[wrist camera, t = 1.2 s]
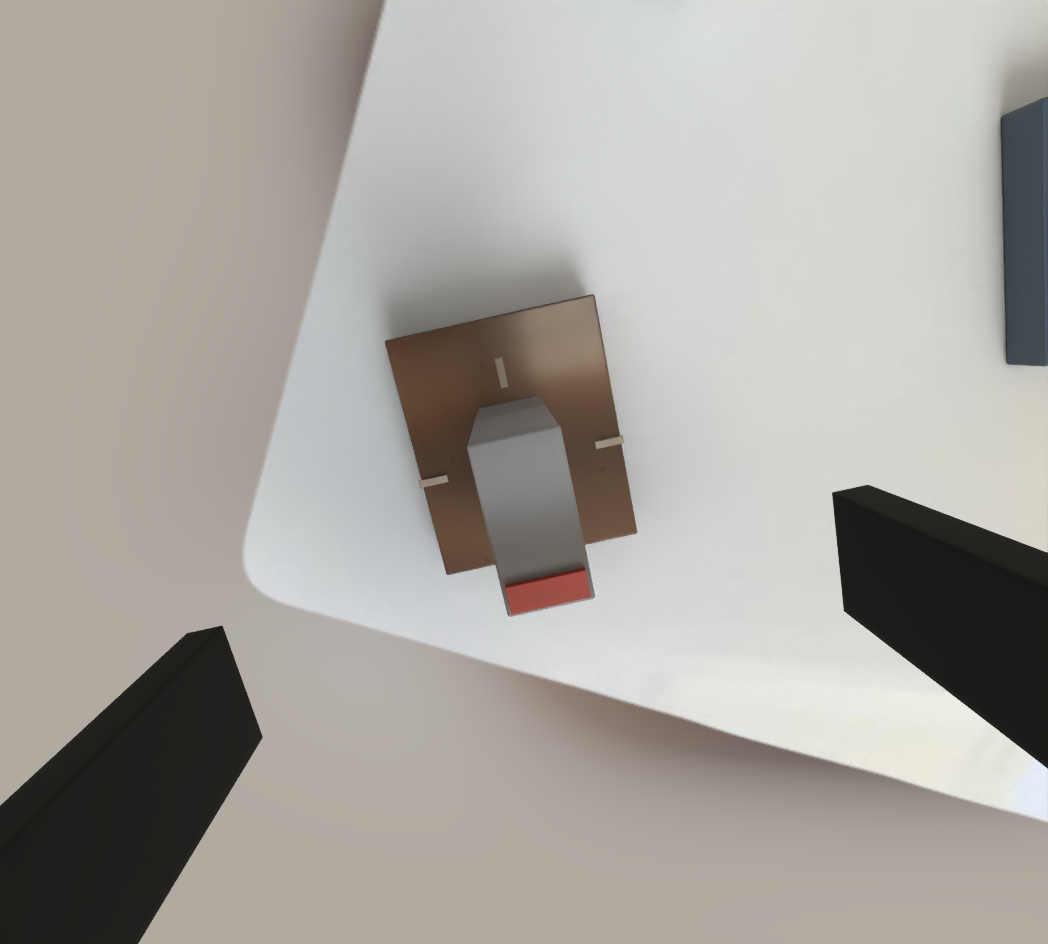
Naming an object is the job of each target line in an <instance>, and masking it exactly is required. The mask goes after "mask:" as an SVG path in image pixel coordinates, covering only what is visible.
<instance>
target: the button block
mask: <svg viewBox="0 0 1048 944" xmlns="http://www.w3.org/2000/svg"><path fill="white" fill-rule="evenodd" d="M1002 150H1003V194H1004V238H1005V282H1006V327H1007V363H1008V364H1009V365H1027V366H1048V97H1046V98H1042V99H1040V100H1038V101H1035V102H1033V103H1031V104H1028V105H1026V106H1024V107H1022V108H1019V109H1017V110H1015V111H1013V112H1010V113H1008V114H1006V115H1004V116H1003V117H1002Z"/></svg>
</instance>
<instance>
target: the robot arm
mask: <svg viewBox="0 0 1048 944" xmlns="http://www.w3.org/2000/svg"><path fill="white" fill-rule="evenodd" d="M832 496H833V506H834V516H835V526H836V536H837V546H838V556H839V566H840V576H841V586H842V596H843V606H844V612H846V613H847V614H848V615H850V616H851V617H852V618H854V619H855V620H856V621H857V622H859V623H860V624H861V625H863V626H864V627H865V628H867V629H868V630H869V631H870V632H872V633H873V634H874V635H876V636H877V637H878V638H879V639H881V640H882V641H883V642H885V643H886V644H887V645H889V646H890V647H891V648H892V649H894V650H895V651H896V652H898V653H899V654H900V655H901V656H903V657H904V658H905V659H907V660H908V661H909V662H911V663H912V664H913V665H914V666H916V667H917V668H918V669H920V670H921V671H922V672H924V673H925V674H926V675H927V676H929V677H930V678H931V679H933V680H934V681H935V682H936V683H938V684H939V685H940V686H942V687H943V688H944V689H946V690H947V691H948V692H949V693H951V694H952V695H953V696H955V697H956V698H957V699H959V700H960V701H961V702H962V703H964V704H965V705H966V706H968V707H969V708H970V709H971V710H973V711H974V712H975V713H977V714H978V715H979V716H981V717H982V718H983V719H984V720H986V721H987V722H988V723H990V724H991V725H992V726H994V727H995V728H996V729H997V730H999V731H1000V732H1001V733H1003V734H1004V735H1005V736H1006V737H1008V738H1009V739H1010V740H1012V741H1013V742H1014V743H1016V744H1017V745H1018V746H1019V747H1021V748H1022V749H1023V750H1025V751H1026V752H1027V753H1028V754H1030V755H1031V756H1032V757H1034V758H1035V759H1036V760H1038V761H1039V762H1040V763H1041V764H1043V765H1044V766H1045V767H1047V768H1048V553H1047V552H1044V551H1041V550H1039V549H1036V548H1033V547H1031V546H1028V545H1025V544H1023V543H1020V542H1018V541H1015V540H1012V539H1010V538H1007V537H1004V536H1002V535H999V534H996V533H994V532H991V531H989V530H986V529H983V528H981V527H978V526H975V525H973V524H970V523H967V522H965V521H962V520H959V519H957V518H954V517H952V516H949V515H946V514H944V513H941V512H938V511H936V510H933V509H930V508H928V507H925V506H923V505H920V504H917V503H915V502H912V501H909V500H907V499H904V498H901V497H899V496H896V495H893V494H891V493H888V492H886V491H883V490H880V489H878V488H875V487H872V486H870V485H865V486H860V487H856V488H851V489H847V490H842V491H837V492H833V493H832ZM261 739H262V734H261V731H260V729H259V726H258V723H257V720H256V717H255V715H254V712H253V709H252V706H251V704H250V701H249V698H248V695H247V692H246V690H245V687H244V684H243V681H242V679H241V676H240V673H239V670H238V668H237V665H236V662H235V659H234V656H233V654H232V651H231V648H230V645H229V642H228V640H227V637H226V634H225V631H224V629H223V626H219V627H214V628H210V629H205V630H201V631H196V632H191V633H187V634H186V635H185V636H184V637H183V638H182V639H181V640H179V642H177V643H176V644H175V645H174V646H173V647H172V648H171V649H170V650H169V651H168V652H166V653H165V654H164V655H163V656H162V657H161V658H160V659H159V660H158V661H157V662H155V663H154V664H153V665H152V666H151V667H150V668H149V669H148V670H147V671H146V672H145V673H144V674H142V675H141V676H140V677H139V678H138V679H137V680H136V681H135V682H134V683H133V684H132V685H131V686H130V687H128V688H127V689H126V690H125V691H124V692H123V693H122V694H121V695H120V696H119V697H118V698H116V699H115V700H114V702H112V703H111V704H110V705H109V706H108V707H107V708H106V709H105V710H103V711H102V712H101V713H100V714H99V715H98V716H97V717H96V718H95V719H94V720H93V721H92V722H90V723H89V724H88V725H87V726H86V727H85V728H84V729H83V730H82V731H81V732H80V733H79V734H78V735H77V736H75V737H74V738H73V739H72V740H71V741H70V742H69V743H68V744H67V745H66V746H65V747H63V748H62V749H61V750H60V751H59V752H58V753H57V754H56V755H55V756H54V757H53V758H51V759H50V760H49V761H48V762H47V763H46V764H45V765H44V766H43V767H42V768H41V769H40V770H39V771H37V772H36V773H35V774H34V775H33V776H32V777H31V778H30V779H29V780H28V781H27V782H25V783H24V784H23V785H22V786H21V787H20V788H19V789H18V790H17V791H16V792H15V793H14V794H12V795H11V796H10V797H9V798H8V799H7V800H6V801H5V802H4V803H3V804H2V805H1V806H0V944H138V943H139V941H140V940H141V938H142V936H143V934H144V933H145V931H146V930H147V928H148V926H149V925H150V923H151V921H152V920H153V918H154V916H155V915H156V913H157V911H158V910H159V908H160V906H161V905H162V903H163V902H164V900H165V898H166V897H167V895H168V893H169V891H170V890H171V888H172V886H173V885H174V883H175V881H176V880H177V878H178V877H179V875H180V873H181V872H182V870H183V868H184V867H185V865H186V863H187V862H188V860H189V858H190V857H191V855H192V854H193V852H194V850H195V848H196V847H197V845H198V844H199V842H200V840H201V839H202V837H203V835H204V834H205V832H206V830H207V828H208V827H209V825H210V824H211V822H212V820H213V819H214V817H215V815H216V814H217V812H218V810H219V809H220V807H221V805H222V804H223V802H224V801H225V799H226V797H227V796H228V794H229V792H230V791H231V789H232V787H233V786H234V784H235V782H236V781H237V778H238V777H239V776H240V774H241V772H242V771H243V769H244V767H245V766H246V764H247V762H248V761H249V759H250V757H251V756H252V754H253V752H254V751H255V749H256V748H257V746H258V744H259V742H260V741H261Z"/></svg>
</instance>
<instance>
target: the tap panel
mask: <svg viewBox="0 0 1048 944" xmlns="http://www.w3.org/2000/svg"><path fill="white" fill-rule="evenodd" d="M385 345H386V348H387V352H388V356H389V360H390V363H391V367H392V371H393V375H394V378H395V382H396V386H397V390H398V394H399V397H400V401H401V405H402V409H403V412H404V416H405V420H406V424H407V427H408V431H409V435H410V439H411V442H412V446H413V450H414V454H415V457H416V461H417V465H418V469H419V473H420V476H421V480H419V484H420V488H424V491H425V495H426V499H427V503H428V506H429V510H430V514H431V518H432V521H433V525H434V529H435V533H436V536H437V540H438V544H439V548H440V552H441V555H442V559H443V563H444V567H445V570H446V574H447V575H450V574H455V573H459V572H464V571H468V570H473V569H477V568H482V567H486V566H491V565H495V561H494V557H493V553H492V548H491V544H490V540H489V536H488V532H487V528H486V524H485V520H484V516H483V511H482V507H481V503H480V499H479V495H478V491H477V487H476V483H475V479H474V475H473V470H472V466H471V462H470V458H469V454H468V450H467V446H468V443H469V439H470V436H471V432H472V429H473V425H474V422H475V418H476V415H477V411H478V409H479V408H483V407H488V406H492V405H497V404H501V403H506V402H510V401H515V400H519V399H524V398H528V397H533V396H539V398H540V399H541V400H542V402H543V403H544V405H545V406H546V407H547V409H548V410H549V412H550V413H551V414H552V416H553V417H554V419H555V420H556V422H557V423H558V424H559V426H560V427H561V431H562V436H563V441H564V446H565V451H566V456H567V461H568V465H569V470H570V475H571V480H572V485H573V490H574V495H575V500H576V505H577V510H578V515H579V519H580V524H581V529H582V534H583V539H584V544H585V545H586V544H591V543H595V542H600V541H604V540H609V539H614V538H618V537H623V536H627V535H632V534H636V533H637V528H636V523H635V517H634V512H633V506H632V500H631V495H630V489H629V484H628V478H627V473H626V467H625V462H624V456H623V451H622V445H621V444H622V443H624V440H623V436H620V434H619V428H618V423H617V417H616V412H615V406H614V401H613V395H612V390H611V384H610V379H609V373H608V367H607V362H606V356H605V351H604V345H603V340H602V334H601V329H600V323H599V318H598V312H597V307H596V301H595V296H594V295H593V294H592V295H587V296H583V297H579V298H574V299H570V300H565V301H561V302H556V303H552V304H547V305H543V306H538V307H534V308H529V309H525V310H520V311H516V312H511V313H507V314H502V315H498V316H493V317H489V318H484V319H480V320H475V321H471V322H466V323H462V324H457V325H453V326H448V327H444V328H439V329H435V330H430V331H426V332H422V333H417V334H413V335H408V336H404V337H399V338H395V339H390V340H386V341H385Z"/></svg>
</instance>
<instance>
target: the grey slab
mask: <svg viewBox="0 0 1048 944" xmlns="http://www.w3.org/2000/svg"><path fill="white" fill-rule="evenodd" d="M467 450H468V454H469V458H470V462H471V466H472V470H473V475H474V479H475V483H476V487H477V491H478V495H479V499H480V503H481V507H482V511H483V516H484V520H485V524H486V528H487V532H488V536H489V540H490V544H491V548H492V553H493V557H494V561H495V565H496V569H497V573H498V577H499V581H500V585H501V589H502V594H503V598H504V602H505V606H506V610H507V614H508V616H509V617H512V616H516V615H521V614H525V613H530V612H534V611H539V610H543V609H548V608H552V607H557V606H562V605H566V604H571V603H575V602H580V601H584V600H589V599H593V598H594V597H595V593H594V588H593V583H592V578H591V573H590V569H589V564H588V559H587V554H586V549H585V544H584V539H583V534H582V529H581V524H580V519H579V515H578V510H577V505H576V500H575V495H574V490H573V485H572V480H571V475H570V470H569V465H568V461H567V456H566V451H565V446H564V441H563V436H562V431H561V427H560V426H559V424H558V423H557V422H556V420H555V419H554V417H553V416H552V414H551V413H550V412H549V410H548V409H547V407H546V406H545V405H544V403H543V402H542V400H541V399H540V398H539V396H533V397H528V398H524V399H519V400H515V401H510V402H506V403H501V404H497V405H492V406H488V407H483V408H479V409H478V411H477V415H476V418H475V422H474V425H473V429H472V432H471V436H470V439H469V443H468V446H467Z"/></svg>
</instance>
